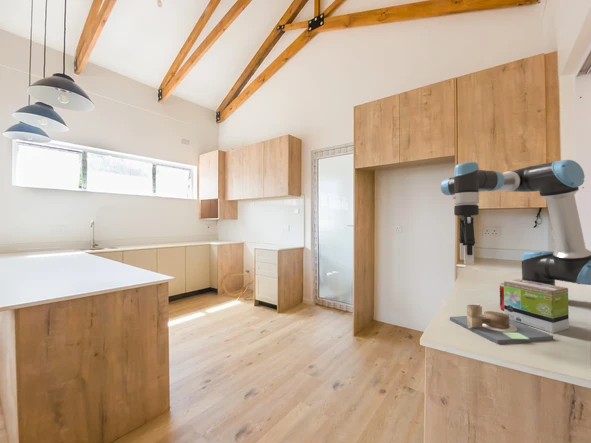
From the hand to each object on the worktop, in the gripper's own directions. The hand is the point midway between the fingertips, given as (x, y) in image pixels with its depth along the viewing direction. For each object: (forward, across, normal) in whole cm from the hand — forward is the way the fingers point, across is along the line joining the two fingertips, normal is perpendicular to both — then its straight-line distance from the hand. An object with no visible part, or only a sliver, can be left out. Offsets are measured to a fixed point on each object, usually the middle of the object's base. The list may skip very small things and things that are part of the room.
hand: (466, 262), depth 94 cm
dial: (+21, +3, +5) cm, 22 cm away
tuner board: (+23, 0, +9) cm, 24 cm away
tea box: (+23, -12, +22) cm, 34 cm away
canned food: (+22, -25, +19) cm, 39 cm away
